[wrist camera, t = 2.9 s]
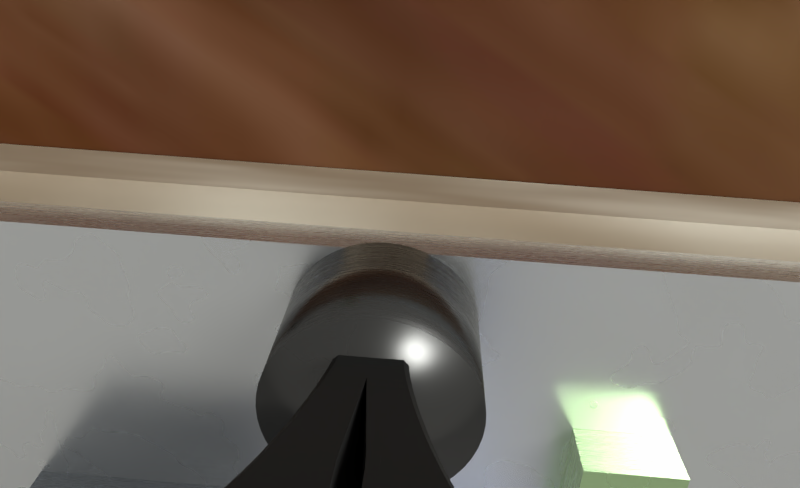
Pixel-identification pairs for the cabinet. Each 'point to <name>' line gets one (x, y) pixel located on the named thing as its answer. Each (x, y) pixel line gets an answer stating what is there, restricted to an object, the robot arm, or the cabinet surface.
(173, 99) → the cabinet surface
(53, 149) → the leveling base
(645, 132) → the cabinet surface
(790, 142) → the cabinet surface
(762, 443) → the leveling plate
